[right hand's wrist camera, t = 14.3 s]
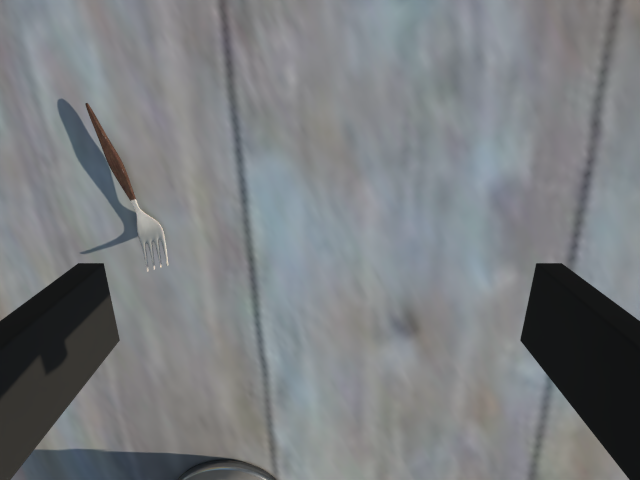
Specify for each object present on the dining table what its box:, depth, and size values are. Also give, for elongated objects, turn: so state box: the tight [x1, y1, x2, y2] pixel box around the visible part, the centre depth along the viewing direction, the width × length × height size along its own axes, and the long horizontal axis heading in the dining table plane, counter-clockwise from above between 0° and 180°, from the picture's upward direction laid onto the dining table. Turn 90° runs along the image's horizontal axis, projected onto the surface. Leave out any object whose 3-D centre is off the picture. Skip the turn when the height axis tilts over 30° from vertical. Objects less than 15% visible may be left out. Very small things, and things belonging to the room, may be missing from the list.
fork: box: [86, 103, 168, 272], centre depth 38 cm, size 3×16×2 cm, turn 17°
